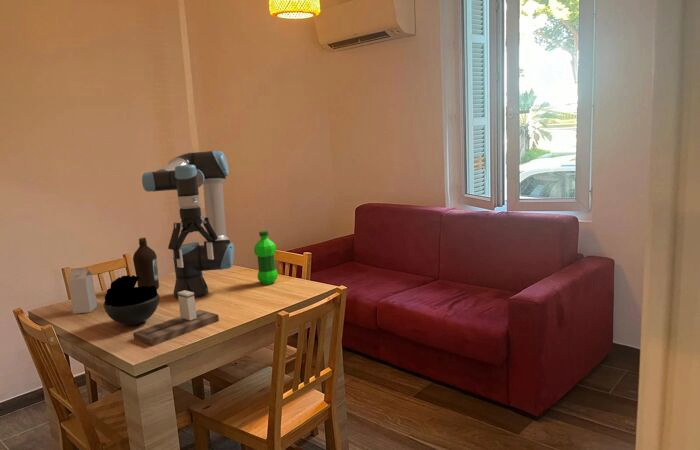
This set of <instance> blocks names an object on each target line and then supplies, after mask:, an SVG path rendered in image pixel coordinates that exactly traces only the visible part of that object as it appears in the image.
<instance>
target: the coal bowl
mask: <svg viewBox="0 0 700 450" xmlns="http://www.w3.org/2000/svg"><path fill="white" fill-rule="evenodd" d="M139 278H140V277H136V275H131V276H130V274H126V275H122V276H120V277H118V278H116V279H115V280H113V281H112V282H111V283H110V287H109V288H108V289H106V293H105V295H104V302H103V309H104V311H105V313H106V314H107V316H108V317H109V318H110V319H111V320H112V321H114V322H115V323H117V324H121V325H124V326H134V325H135V326H136V325H138V324H142V323H144V322H145V321H147V320H149V318H151V317H152V316H153V315H154V313H156V310H157V308H158V306H159V303H160V294H159V293H158V290H157V289H158V288H157V289H156V287H155V286H154V285H153V286H151V287H148V286H142V287H138V286H136V285H137V280H138V279H139Z"/></svg>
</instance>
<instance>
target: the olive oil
mask: <svg viewBox="0 0 700 450" xmlns="http://www.w3.org/2000/svg"><path fill="white" fill-rule="evenodd" d="M157 257H158V256H157V253H156V252H155V250H154V249H152V248H151V247H150V246H149V245H148V243H147V238H146V237H139V238H138V248H137V249H136V250H135V252H133V257H132V261H133V267H134V271H135V272H134V273H135V276H136V277H140V278H139V279H138V280H137V282H136V284H137V287H142V286H148V287H151V286H153V285H154V286H155V287H156V289H159V288H160V283H159V281H160V280H159V271H158V258H157Z"/></svg>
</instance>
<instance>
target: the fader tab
mask: <svg viewBox="0 0 700 450" xmlns="http://www.w3.org/2000/svg"><path fill="white" fill-rule="evenodd" d="M195 298H196V297H195ZM195 298H194V292H190V291H186V290H184V291H181V292H178V298H177V299H178V306H179V313H180V314H179V317H180V316H181V318H183V319H186V320H193V319H196V318H197V315H196V311H197V308H196V301H195Z"/></svg>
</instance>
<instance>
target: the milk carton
mask: <svg viewBox="0 0 700 450" xmlns="http://www.w3.org/2000/svg"><path fill="white" fill-rule="evenodd" d="M69 270H70V272H69V274H68V275H69V276H68V279H67V281H68V283H67V284H68V289H69V294H70V299H71V300H70V301H71V307H72V314H74V315H75V314H85V313H91V312H93V311H95V309H96V308H98V303H97V297H96V291H95V284H94V277H93V273H92V272H91V271H90V270H89V268H88V267H87V266H86V267H84V266H83V267H75V268H74V267H71V268H70V269H69Z"/></svg>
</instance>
